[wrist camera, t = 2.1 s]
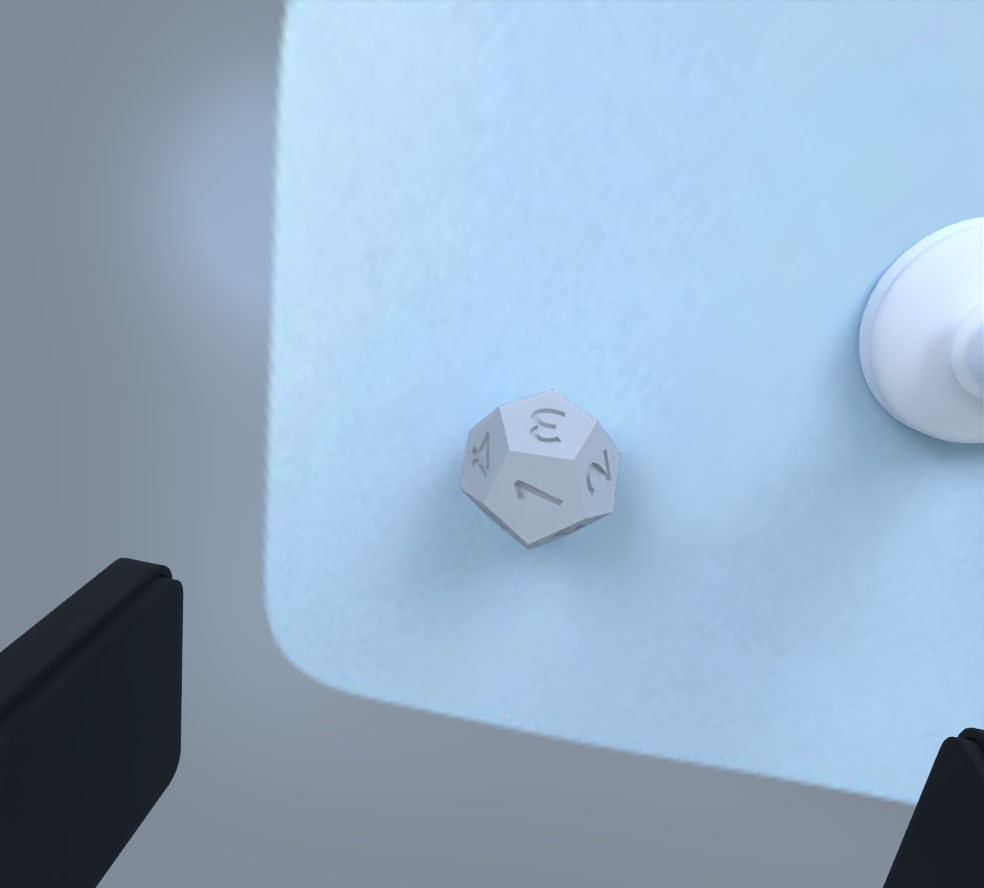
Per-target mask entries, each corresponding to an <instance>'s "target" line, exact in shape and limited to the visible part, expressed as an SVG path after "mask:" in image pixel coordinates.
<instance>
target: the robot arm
mask: <svg viewBox="0 0 984 888" xmlns="http://www.w3.org/2000/svg"><path fill="white" fill-rule="evenodd" d="M182 635H183V587H182V584H181V582H180V581H178V580H174V579H172V574H171V571H170V569H169V568H168V567H166V566H163V565H158V564H153V563H148V562H143V561H139V560H133V559H129V558H120V559H118V560H116V561H114V562H113V563H112V564H111V565H109V566H108V567H107V568H106V569H104V570H103V571H102V572H101V573H99V574H98V575H97V576H96V577H94V578H93V579H92V580H91V581H89V582H88V583H87V584H86V585H84V586H83V587H82V588H81V589H79V590H78V591H77V592H76V593H75V594H73V595H72V596H71V597H69V598H68V599H67V600H66V601H64V602H63V603H62V604H60V605H59V606H58V607H57V608H55V609H54V610H53V611H52V612H50V613H49V614H48V615H47V616H46V617H44V618H43V619H42V620H40V621H39V622H38V623H37V624H35V625H34V626H33V627H32V628H31V629H29V630H28V631H27V632H26V633H24V634H23V635H22V636H20V637H19V638H18V639H17V640H15V642H13V643H12V644H10V645H9V646H8V647H7V648H5V649H4V650H3V651H2V652H0V888H96V886H97V885H98V884H99V882H100V881H101V879H102V878H103V877H104V875H105V874H106V872H107V871H108V869H109V868H110V867H111V865H112V864H113V862H114V861H115V860H116V858H117V857H118V855H119V854H120V853H121V851H122V850H123V848H124V847H125V846H126V844H127V843H128V841H129V840H130V839H131V837H132V836H133V834H134V833H135V832H136V830H137V829H138V827H139V826H140V825H141V823H142V822H143V820H144V819H145V818H146V816H147V815H148V813H149V812H150V810H151V809H152V808H153V806H154V805H155V803H156V802H157V800H158V799H159V798H160V796H161V795H162V794H163V792H164V791H165V789H166V788H167V787H168V785H169V784H170V782H171V780H172V778H173V776H174V774H175V772H176V769H177V766H178V763H179V759H180V752H181V698H182ZM883 888H984V730H981V729H976V728H967V729H964V730H963V731H962V732H961V733H960V734H959V736H958V737H948V738H947V739H946V740H945V741H944V742H943V744H942V745H941V747H940V750H939V752H938V755H937V757H936V759H935V762H934V764H933V767H932V769H931V772H930V774H929V777H928V779H927V781H926V784H925V786H924V789H923V791H922V794H921V796H920V799H919V801H918V803H917V806H916V808H915V811H914V813H913V816H912V818H911V821H910V823H909V826H908V828H907V830H906V833H905V835H904V838H903V840H902V843H901V845H900V848H899V850H898V852H897V855H896V857H895V860H894V862H893V865H892V867H891V870H890V872H889V874H888V877H887V879H886V882H885V884H884V887H883Z"/></svg>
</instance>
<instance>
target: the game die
mask: <svg viewBox="0 0 984 888" xmlns="http://www.w3.org/2000/svg"><path fill="white" fill-rule="evenodd" d="M620 456H621V453H620V452H619V450H618V449H617V448H616V446H615V445H614V443H613V442H612V440H611V439H610V437H609V436H608V434H607V433H606V431H605V430H604V428H603V427H602V426H601V424H600V423H599V421H598V420H597V419H595V418H594V417H592V416H591V415H589V414H588V413H586V412H585V411H583V410H582V409H580V408H579V407H578V406H576V405H575V404H573V403H572V402H570V401H569V400H567V399H566V398H564V397H563V396H561V395H560V394H559V393H557V392H556V391H554V390H553V389H551V390H548V391H545V392H542V393H539V394H536V395H532V396H529V397H526V398H523V399H520V400H516V401H513V402H510V403H507V404H504V405H501V406H499V407H497V408H496V409H495V410H494V411H493V412H491V413H490V414H489V415H488V416H487V417H485V418H484V419H483V420H482V421H481V422H479V423H478V424H477V425H476V426H475V427H474V428H472V429H471V430H470V431H469V435H468V441H467V447H466V453H465V458H464V464H463V470H462V476H461V482H460V487H459V488H460V489H461V490H462V491H463V492H464V493H465V494H466V495H467V496H468V497H469V498H470V499H471V500H472V501H473V502H474V503H475V504H476V505H477V506H478V507H479V508H480V509H481V510H482V511H483V512H484V513H485V514H486V515H487V516H488V517H489V518H490V519H492V520H493V521H494V522H495V523H496V524H498V525H499V526H500V527H501V528H503V529H504V530H505V531H506V532H507V533H509V534H510V535H511V536H512V537H514V538H515V539H516V540H517V541H518V542H520V543H521V544H522V545H523V546H524V547H526V548H527V549H528V550H529V549H532V548H534V547H537V546H539V545H542V544H544V543H547V542H550V541H552V540H555V539H557V538H560V537H562V536H565V535H568V534H570V533H573V532H575V531H578V530H580V529H582V528H583V527H585V526H587V525H589V524H591V523H593V522H595V521H597V520H598V519H600V518H602V517H604V516H606V515H608V514H610V513H611V512H613V509H614V501H615V494H616V486H617V479H618V471H619V464H620Z"/></svg>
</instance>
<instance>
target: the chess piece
mask: <svg viewBox="0 0 984 888" xmlns="http://www.w3.org/2000/svg"><path fill="white" fill-rule="evenodd" d="M859 357H860V363H861V368H862V372H863V375H864V378H865V380H866V383H867V385H868V387H869V389H870V391H871V392H872V394H873V396H874V397H875V398H876V400H877V401H878V402H879V404H880V405H881V406H882V407H883V408H884V409H885V410H886V411H887V412H888V413H889V414H890V415H891V416H893V417H894V418H895V419H897V420H898V421H900V422H901V423H903V424H904V425H906V426H908V427H910V428H912V429H914V430H917V431H919V432H922V433H924V434H927V435H929V436H932V437H934V438H938V439H941V440H945V441H950V442H956V443H984V217H980V218H974V219H969V220H965V221H962V222H958V223H955V224H952V225H950V226H947V227H945V228H942V229H940V230H938V231H936V232H934V233H932V234H930V235H928V236H927V237H925V238H923V239H922V240H920V241H919V242H917V243H916V244H914V245H913V246H912V247H911V248H909V249H908V250H907V251H906V252H904V253H903V254H902V255H901V256H900V257H899V258H898V259H897V260H896V261H895V262H894V263H893V264H892V265H891V266H890V267H889V269H888V270H887V271H886V272H885V274H884V275H883V276H882V278H881V279H880V281H879V282H878V284H877V285H876V287H875V289H874V290H873V292H872V294H871V296H870V298H869V301H868V303H867V305H866V308H865V311H864V314H863V318H862V322H861V326H860V333H859Z"/></svg>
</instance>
